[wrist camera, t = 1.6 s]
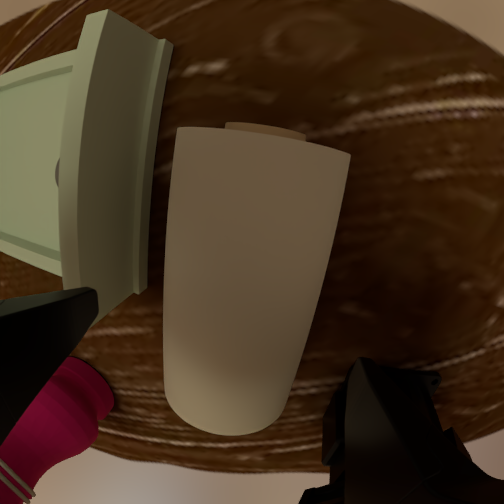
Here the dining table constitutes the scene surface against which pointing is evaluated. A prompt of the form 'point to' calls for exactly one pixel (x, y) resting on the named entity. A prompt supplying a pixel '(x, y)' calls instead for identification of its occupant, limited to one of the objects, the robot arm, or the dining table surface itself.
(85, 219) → the roll cradle
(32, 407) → the pepper mill
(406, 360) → the dining table surface
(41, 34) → the dining table surface
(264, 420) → the kitchen roll
